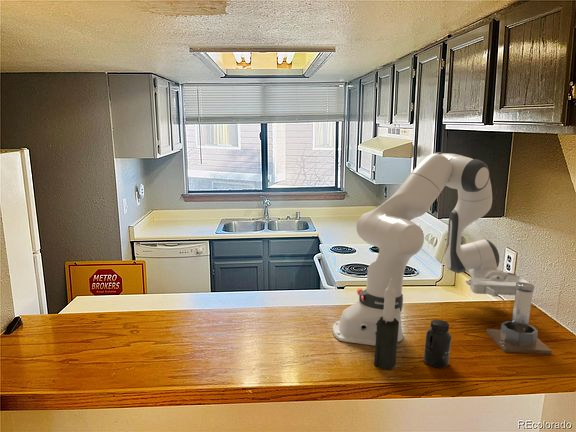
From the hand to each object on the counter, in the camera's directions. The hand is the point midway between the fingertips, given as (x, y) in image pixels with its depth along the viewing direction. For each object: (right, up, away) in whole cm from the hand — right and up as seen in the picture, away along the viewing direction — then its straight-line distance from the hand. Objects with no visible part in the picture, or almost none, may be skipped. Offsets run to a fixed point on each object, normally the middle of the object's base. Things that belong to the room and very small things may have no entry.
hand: (510, 295), depth 150 cm
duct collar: (-1, -14, -7) cm, 15 cm away
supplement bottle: (-32, -16, -21) cm, 41 cm away
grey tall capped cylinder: (-1, -13, -7) cm, 14 cm away
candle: (-47, -16, -24) cm, 55 cm away
